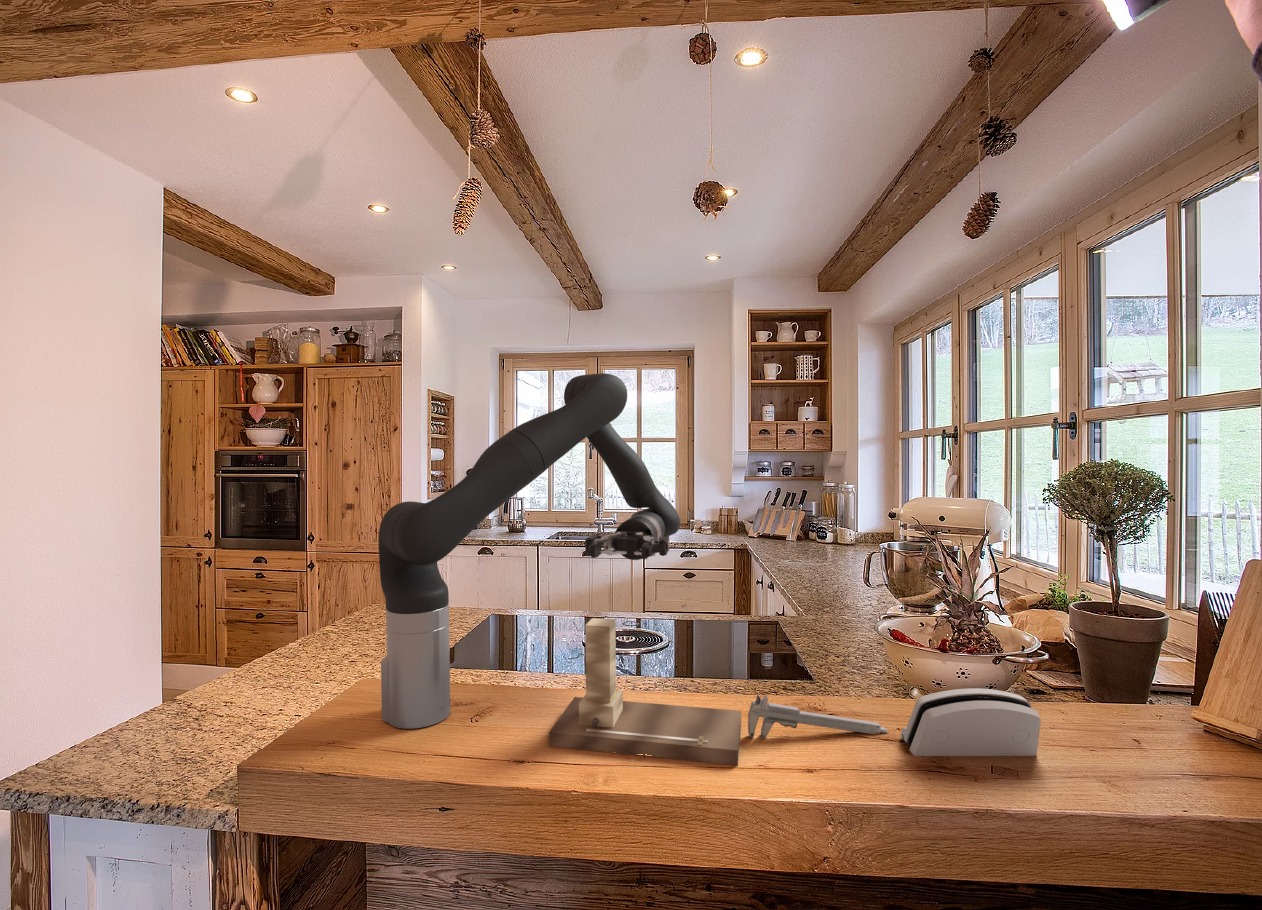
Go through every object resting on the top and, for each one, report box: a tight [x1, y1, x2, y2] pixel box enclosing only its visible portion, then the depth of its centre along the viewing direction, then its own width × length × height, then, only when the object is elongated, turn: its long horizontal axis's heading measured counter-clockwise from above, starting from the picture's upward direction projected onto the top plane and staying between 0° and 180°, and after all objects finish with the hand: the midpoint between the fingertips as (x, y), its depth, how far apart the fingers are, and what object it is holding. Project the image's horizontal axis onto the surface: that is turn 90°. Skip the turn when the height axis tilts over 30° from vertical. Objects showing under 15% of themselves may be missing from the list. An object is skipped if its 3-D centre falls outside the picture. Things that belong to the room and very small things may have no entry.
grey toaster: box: [899, 687, 1042, 757], centre depth 84 cm, size 17×5×10 cm, turn 89°
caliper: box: [747, 693, 890, 739], centre depth 89 cm, size 20×1×6 cm, turn 94°
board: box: [548, 696, 742, 766], centre depth 89 cm, size 26×12×2 cm, turn 78°
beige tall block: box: [579, 617, 624, 728], centre depth 90 cm, size 5×7×14 cm
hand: (618, 552), depth 101 cm, fingers open, 8 cm apart
